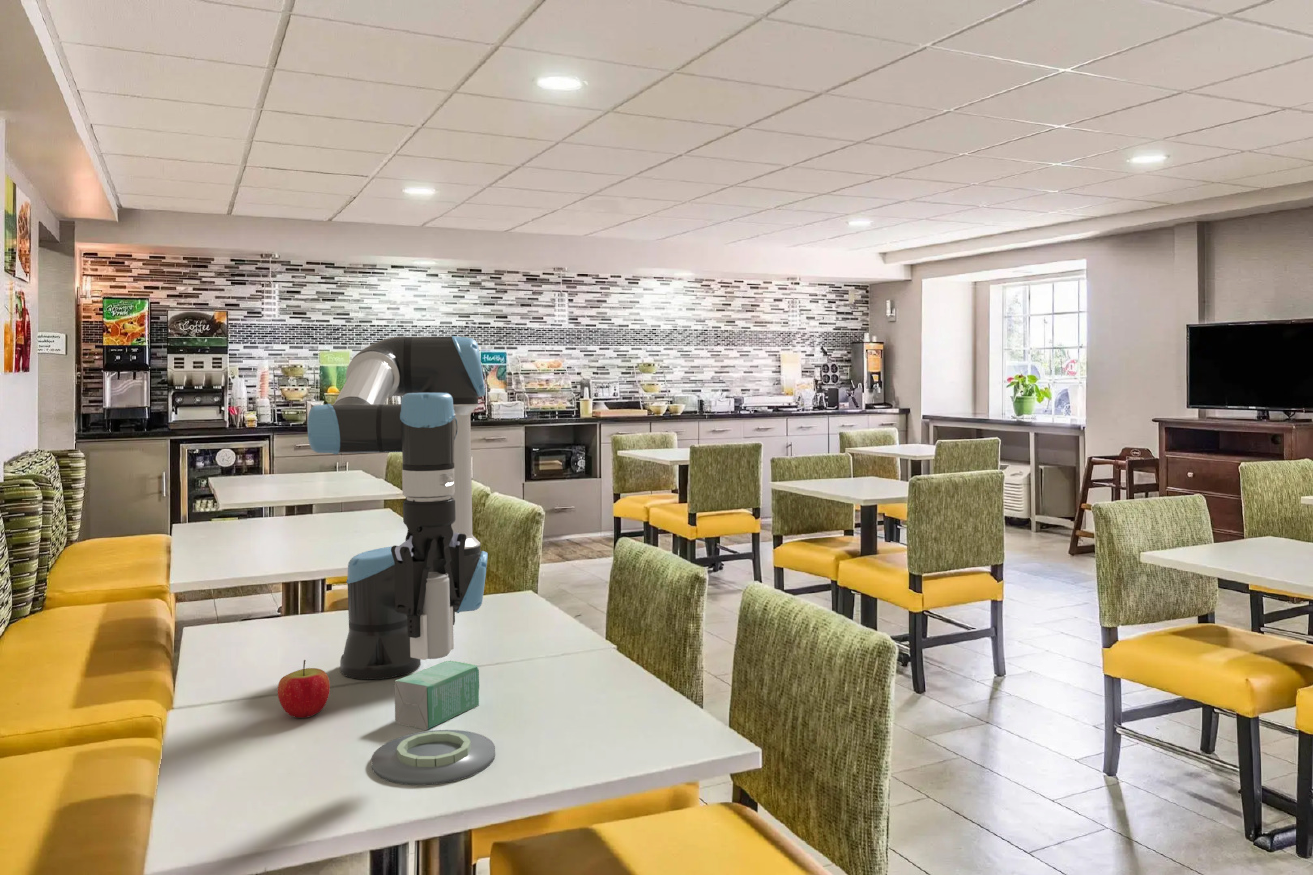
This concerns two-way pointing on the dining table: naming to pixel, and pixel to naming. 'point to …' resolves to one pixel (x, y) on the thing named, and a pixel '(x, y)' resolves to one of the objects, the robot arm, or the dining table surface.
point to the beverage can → (437, 615)
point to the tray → (433, 757)
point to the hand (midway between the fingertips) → (432, 652)
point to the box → (436, 694)
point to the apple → (304, 692)
